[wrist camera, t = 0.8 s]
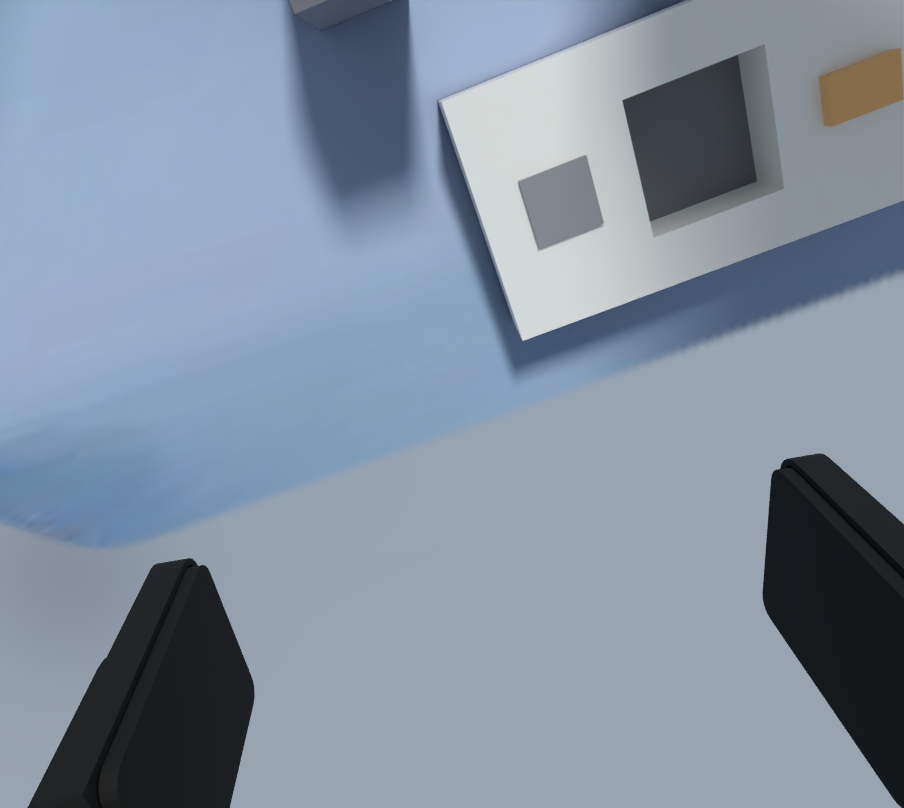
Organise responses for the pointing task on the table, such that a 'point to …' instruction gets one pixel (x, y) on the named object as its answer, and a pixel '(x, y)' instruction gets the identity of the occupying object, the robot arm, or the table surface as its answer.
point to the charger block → (331, 10)
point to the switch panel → (680, 147)
